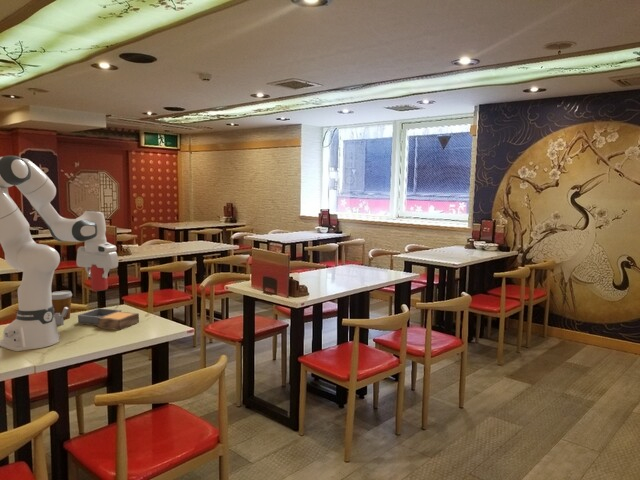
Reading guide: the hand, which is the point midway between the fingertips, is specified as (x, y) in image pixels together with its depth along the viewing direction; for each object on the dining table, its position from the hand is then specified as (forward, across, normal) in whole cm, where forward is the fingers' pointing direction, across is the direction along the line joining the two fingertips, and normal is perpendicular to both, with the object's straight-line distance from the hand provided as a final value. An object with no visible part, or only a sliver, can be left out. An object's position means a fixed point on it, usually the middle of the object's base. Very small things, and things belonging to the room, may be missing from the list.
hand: (97, 277), depth 214 cm
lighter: (+20, -11, -11) cm, 25 cm away
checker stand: (+20, +13, -3) cm, 24 cm away
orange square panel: (+17, +13, -3) cm, 21 cm away
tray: (+20, 0, 0) cm, 20 cm away
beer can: (+6, 0, +1) cm, 6 cm away
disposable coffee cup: (+20, -19, -3) cm, 28 cm away
